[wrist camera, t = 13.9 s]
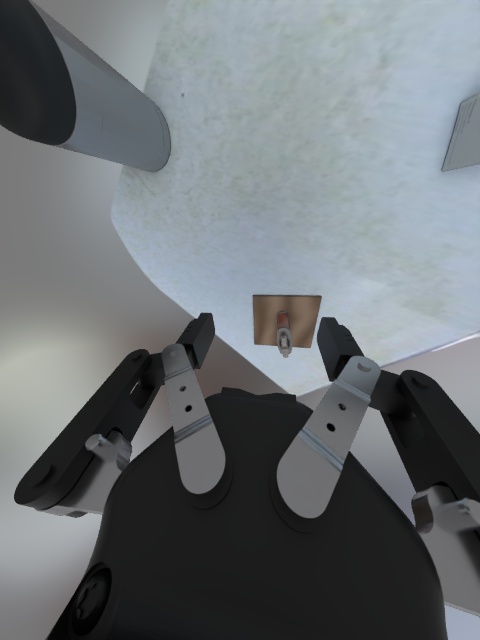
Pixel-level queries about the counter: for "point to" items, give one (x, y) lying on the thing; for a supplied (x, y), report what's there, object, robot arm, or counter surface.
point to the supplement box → (465, 136)
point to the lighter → (284, 334)
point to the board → (300, 317)
